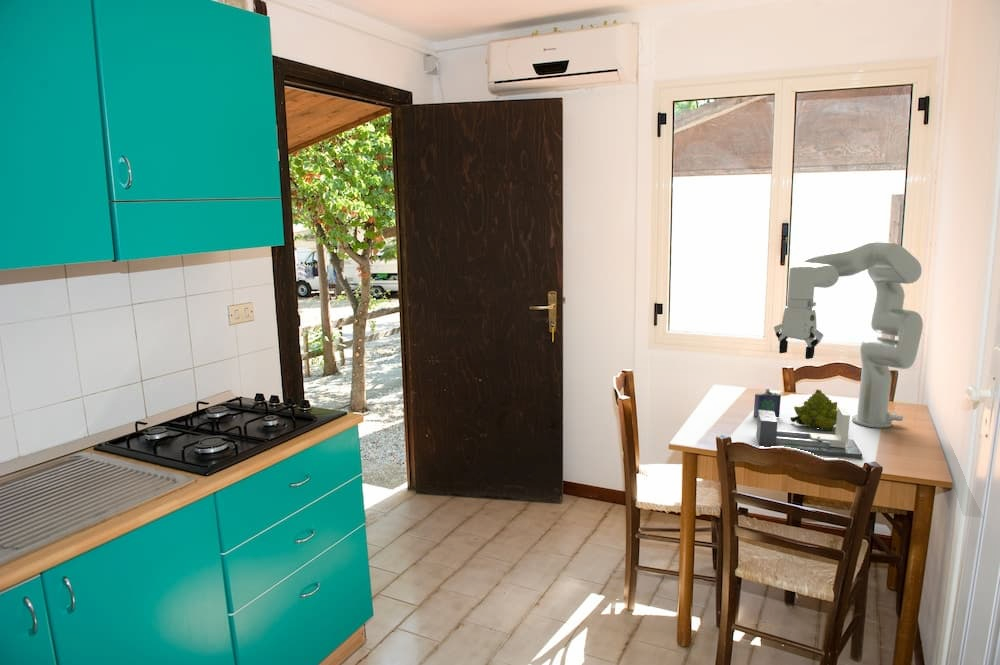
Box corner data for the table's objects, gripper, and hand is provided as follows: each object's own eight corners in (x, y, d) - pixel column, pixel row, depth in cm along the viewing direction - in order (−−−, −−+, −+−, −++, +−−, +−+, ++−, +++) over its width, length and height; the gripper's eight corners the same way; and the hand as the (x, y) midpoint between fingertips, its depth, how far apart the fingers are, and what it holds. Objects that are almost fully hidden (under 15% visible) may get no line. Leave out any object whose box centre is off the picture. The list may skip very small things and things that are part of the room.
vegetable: (779, 413, 239) (805, 380, 237) (805, 430, 246) (831, 398, 243) (805, 433, 226) (834, 398, 224) (833, 451, 232) (860, 417, 230)
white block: (841, 440, 217) (844, 407, 215) (847, 451, 207) (851, 417, 205) (808, 437, 220) (810, 405, 218) (813, 448, 210) (815, 414, 208)
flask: (754, 417, 247) (756, 390, 245) (752, 415, 250) (754, 387, 248) (780, 418, 246) (782, 390, 244) (777, 416, 249) (779, 388, 247)
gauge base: (852, 443, 219) (855, 416, 217) (862, 459, 206) (864, 430, 204) (756, 435, 228) (758, 409, 226) (759, 449, 214) (761, 421, 213)
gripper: (832, 306, 207) (827, 359, 210) (784, 299, 222) (780, 349, 225) (816, 308, 203) (812, 362, 207) (769, 301, 218) (765, 352, 221)
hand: (795, 355), depth 216 cm, fingers open, 9 cm apart
